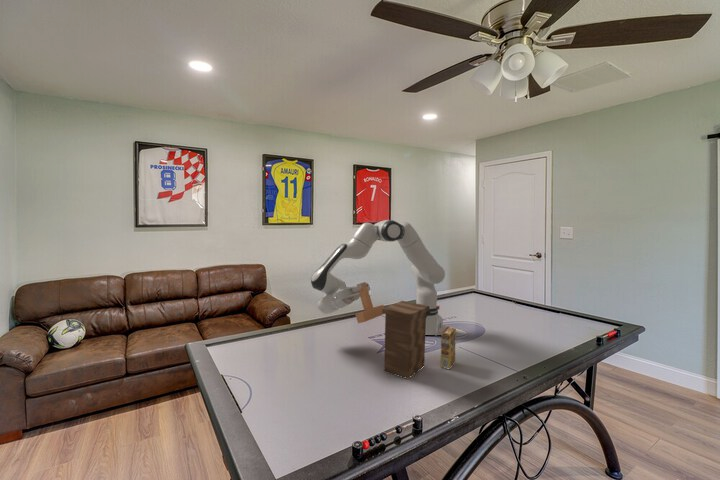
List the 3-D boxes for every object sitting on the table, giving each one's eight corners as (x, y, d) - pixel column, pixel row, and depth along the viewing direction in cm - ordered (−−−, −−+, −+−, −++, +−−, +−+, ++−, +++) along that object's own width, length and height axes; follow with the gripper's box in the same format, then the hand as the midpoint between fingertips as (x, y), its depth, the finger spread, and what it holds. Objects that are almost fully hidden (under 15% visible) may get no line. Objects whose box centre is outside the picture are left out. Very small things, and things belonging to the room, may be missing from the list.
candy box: (449, 370, 138) (451, 333, 137) (439, 367, 140) (441, 332, 139) (455, 362, 146) (456, 327, 145) (445, 360, 148) (446, 326, 147)
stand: (400, 358, 149) (402, 300, 147) (427, 366, 141) (429, 305, 139) (380, 371, 136) (382, 308, 134) (409, 381, 128) (410, 314, 127)
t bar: (369, 281, 157) (375, 279, 155) (378, 314, 155) (385, 313, 153) (347, 286, 145) (354, 284, 142) (358, 323, 142) (365, 321, 140)
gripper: (326, 294, 149) (347, 282, 142) (354, 286, 165) (374, 276, 158) (331, 307, 148) (353, 296, 140) (359, 298, 164) (380, 288, 156)
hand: (364, 285), depth 149 cm, fingers closed on t bar, 3 cm apart
